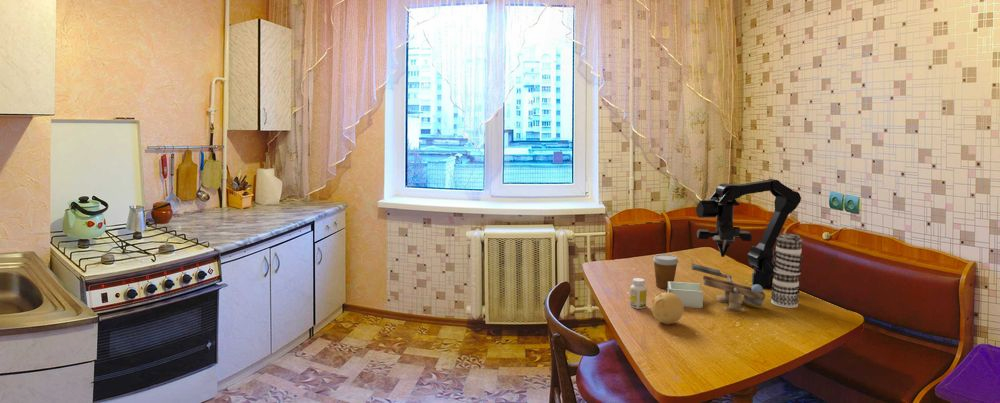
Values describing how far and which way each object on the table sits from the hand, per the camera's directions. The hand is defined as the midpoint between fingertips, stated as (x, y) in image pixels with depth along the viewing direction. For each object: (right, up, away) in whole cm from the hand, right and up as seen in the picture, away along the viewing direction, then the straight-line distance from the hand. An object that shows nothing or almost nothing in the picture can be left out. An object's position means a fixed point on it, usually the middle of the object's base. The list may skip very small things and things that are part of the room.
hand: (722, 256), depth 193 cm
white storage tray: (-20, -15, -13) cm, 28 cm away
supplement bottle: (-37, -16, -17) cm, 44 cm away
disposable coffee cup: (-21, -12, +5) cm, 25 cm away
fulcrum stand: (-4, -15, -16) cm, 22 cm away
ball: (+3, -9, -20) cm, 22 cm away
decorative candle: (+15, -15, -16) cm, 26 cm away
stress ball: (-32, -18, -31) cm, 48 cm away
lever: (-5, -11, -13) cm, 18 cm away
